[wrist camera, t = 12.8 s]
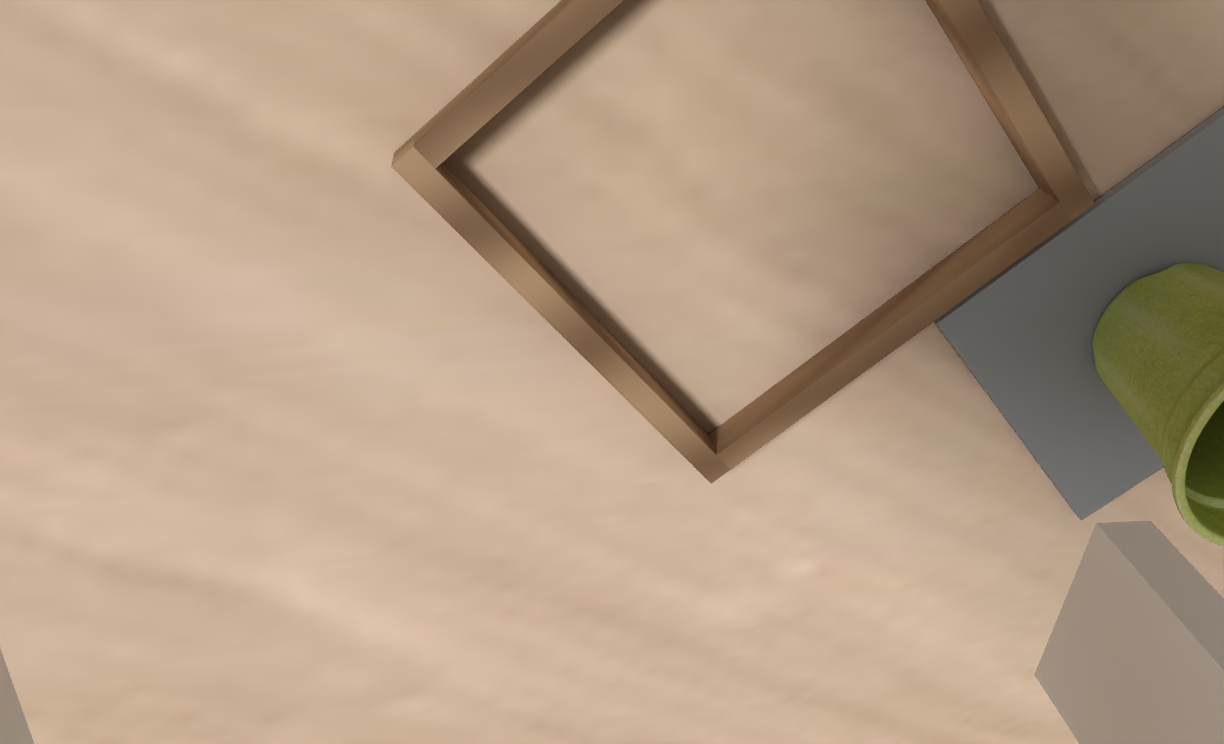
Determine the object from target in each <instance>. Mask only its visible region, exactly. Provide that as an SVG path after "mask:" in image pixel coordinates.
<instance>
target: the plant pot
mask: <svg viewBox="0 0 1224 744" xmlns="http://www.w3.org/2000/svg"><path fill="white" fill-rule="evenodd" d="M1092 345H1093V351H1094V358H1095V364H1096V369H1097V373H1098V375H1099V376H1100V378H1101V379H1102V380H1103V382H1104V383H1105V385H1106V386H1107V387H1108V389H1109V390H1110V392H1111V393H1112V394H1113V396H1114V397H1115V398H1116V399H1117V401H1118V402H1119V403H1120V405H1121V406H1122V407H1123V409H1124V410H1125V411H1126V412H1127V414H1128V415H1129V416H1130V418H1131V419H1132V421H1133V422H1134V423H1135V425H1136V426H1137V427H1138V429H1139V430H1140V431H1141V433H1142V434H1143V435H1144V437H1145V438H1146V439H1147V441H1148V442H1149V443H1150V445H1151V446H1152V448H1153V449H1154V450H1155V452H1156V453H1157V454H1158V456H1159V457H1160V458H1161V460H1162V461H1163V464H1164V468H1165V471H1166V473H1167V476H1168V478H1169V480H1170V482H1171V483H1172V490H1173V496H1174V500H1175V503H1176V506H1177V508H1178V510H1179V512H1180V514H1181V516H1182V517H1183V519H1184V520H1185V521H1186V523H1187V524H1188V525H1189V526H1190V527H1191V528H1192V529H1193V530H1194V531H1195V532H1196V533H1197V534H1198V535H1200V536H1201V537H1203V538H1204V539H1206V540H1208V541H1210V542H1212V543H1215V544H1218V545H1221V546H1224V272H1222V271H1219V270H1217V269H1214V268H1212V267H1210V266H1207V265H1203V264H1198V263H1179V264H1174V265H1172V266H1171V267H1169V268H1167V269H1165V270H1163V271H1161V272H1159V273H1156V274H1153V275H1150V276H1146V277H1143V278H1139V279H1137V280H1135V281H1134V282H1133V283H1131V284H1130V285H1129V286H1127V287H1126V288H1125V289H1124V290H1122V291H1121V292H1120V293H1119V294H1118V295H1117V296H1116V297H1115V299H1114V300H1113V301H1112V302H1111V303H1110V305H1109V306H1108V307H1107V309H1106V310H1105V312H1104V314H1103V315H1102V317H1101V319H1100V321H1099V323H1098V325H1097V327H1096V330H1095V333H1094V337H1093V344H1092Z"/></svg>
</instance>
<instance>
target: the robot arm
mask: <svg viewBox="0 0 1224 744" xmlns="http://www.w3.org/2000/svg"><path fill="white" fill-rule="evenodd" d="M1035 676H1036V678H1037V679H1038V681H1039V682H1040V684H1041V685H1042V687H1043V688H1044V690H1045V691H1046V693H1047V694H1048V696H1049V698H1050V699H1051V701H1052V702H1053V704H1054V705H1055V707H1056V708H1057V710H1058V711H1059V713H1060V714H1061V716H1062V717H1063V719H1064V721H1065V722H1066V724H1067V725H1068V727H1069V728H1070V730H1071V731H1072V733H1073V734H1074V736H1075V737H1076V739H1077V740H1078V742H1079V744H1224V598H1223V597H1222V596H1221V595H1220V594H1219V593H1218V592H1217V591H1216V590H1215V589H1214V588H1213V587H1212V586H1211V585H1210V584H1209V583H1208V581H1207V580H1206V579H1205V578H1204V577H1203V576H1202V575H1201V574H1200V573H1199V572H1198V571H1197V570H1196V569H1195V568H1194V567H1193V566H1192V564H1191V563H1190V562H1189V561H1188V560H1187V559H1186V558H1185V557H1184V556H1183V555H1182V554H1181V553H1180V552H1179V551H1178V550H1177V549H1176V547H1175V546H1174V545H1173V544H1172V543H1171V542H1170V541H1169V540H1168V539H1167V538H1166V537H1165V536H1164V535H1163V534H1162V533H1161V531H1160V530H1159V529H1158V528H1157V527H1156V526H1155V525H1154V524H1153V523H1152V522H1151V521H1138V522H1117V523H1096V525H1095V528H1094V530H1093V533H1092V535H1091V538H1090V540H1089V543H1088V545H1087V547H1086V550H1085V552H1084V555H1083V557H1082V560H1081V562H1080V565H1079V567H1078V570H1077V572H1076V574H1075V577H1074V579H1073V582H1072V584H1071V587H1070V589H1069V592H1068V594H1067V596H1066V599H1065V601H1064V604H1063V606H1062V609H1061V611H1060V614H1059V616H1058V619H1057V621H1056V623H1055V626H1054V628H1053V631H1052V633H1051V636H1050V638H1049V641H1048V643H1047V645H1046V648H1045V650H1044V653H1043V655H1042V658H1041V660H1040V663H1039V665H1038V668H1037V670H1036V672H1035ZM0 744H34V742H33V739H32V736H31V733H30V730H29V728H28V725H27V722H26V719H25V716H24V714H23V711H22V708H21V705H20V702H19V700H18V697H17V694H16V691H15V688H14V686H13V683H12V680H11V677H10V674H9V672H8V669H7V666H6V663H5V660H4V658H3V655H2V652H1V649H0Z"/></svg>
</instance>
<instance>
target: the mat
mask: <svg viewBox="0 0 1224 744" xmlns="http://www.w3.org/2000/svg"><path fill="white" fill-rule="evenodd" d="M1094 203H1095V204H1094V205H1093V206H1091V207H1090V208H1088V209H1087V210H1086V211H1084V212H1083V213H1082V214H1080V215H1079V216H1078V217H1076V218H1075V219H1073V220H1072V221H1071V222H1069V223H1068V224H1067V225H1065V226H1064V227H1062V228H1061V229H1060V230H1058V231H1057V232H1056V233H1054V234H1053V235H1051V236H1050V237H1049V238H1047V239H1046V240H1045V241H1043V242H1042V243H1040V244H1039V245H1038V246H1036V247H1035V248H1034V249H1032V250H1031V251H1030V252H1028V253H1027V254H1025V255H1024V256H1023V257H1021V258H1020V259H1019V260H1017V261H1016V262H1014V263H1013V264H1012V265H1010V266H1009V267H1008V268H1006V269H1005V270H1003V271H1002V272H1001V273H999V274H998V275H997V276H995V277H994V278H992V279H991V280H990V281H988V282H987V283H986V284H984V285H983V286H982V287H980V288H979V289H977V290H976V291H975V292H973V293H972V294H971V295H969V296H968V297H966V298H965V299H964V300H962V301H961V302H960V303H958V304H957V305H955V306H954V307H953V308H951V309H950V310H949V311H947V312H946V313H944V314H943V315H942V316H940V317H939V318H938V319H936V320H935V321H934V322H935V324H936V325H937V326H938V328H939V329H940V330H941V332H942V333H943V334H944V336H945V337H946V339H947V340H948V341H949V343H950V344H951V345H952V347H953V348H954V349H955V351H956V352H957V353H958V355H959V356H960V358H961V359H962V360H963V362H964V363H965V364H966V366H967V367H968V368H969V370H970V371H971V372H972V374H973V375H974V377H975V378H976V379H977V381H978V382H979V383H980V385H981V386H982V387H983V389H984V390H985V391H986V393H987V394H988V395H989V397H990V398H991V400H992V401H993V402H994V404H995V405H996V406H997V408H998V409H999V410H1000V412H1001V413H1002V414H1003V416H1004V417H1005V419H1006V420H1007V421H1008V423H1009V424H1010V425H1011V427H1012V428H1013V429H1014V431H1015V432H1016V433H1017V435H1018V436H1019V438H1020V439H1021V440H1022V442H1023V443H1024V444H1025V446H1026V447H1027V448H1028V450H1029V451H1030V452H1031V454H1032V455H1033V457H1034V458H1035V459H1036V461H1037V462H1038V463H1039V465H1040V466H1041V467H1042V469H1043V470H1044V471H1045V473H1046V474H1047V476H1048V477H1049V478H1050V480H1051V481H1052V482H1053V484H1054V485H1055V486H1056V488H1057V489H1058V490H1059V492H1060V493H1061V495H1062V496H1063V497H1064V499H1065V500H1066V501H1067V503H1068V504H1069V505H1070V507H1071V508H1072V509H1073V511H1074V512H1075V514H1076V515H1077V516H1078V517H1079V518H1080V520H1083V519H1084V518H1086V517H1087V516H1089V515H1090V514H1092V513H1093V512H1095V511H1097V510H1098V509H1100V508H1101V507H1103V506H1104V505H1106V504H1107V503H1109V502H1110V501H1112V500H1114V499H1115V498H1117V497H1118V496H1120V495H1121V494H1123V493H1124V492H1126V491H1127V490H1129V489H1131V488H1132V487H1134V486H1135V485H1137V484H1138V483H1140V482H1141V481H1143V480H1144V479H1146V478H1147V477H1149V476H1151V475H1152V474H1154V473H1155V472H1157V471H1158V470H1160V469H1161V468H1163V467H1164V464H1163V461H1162V460H1161V458H1160V457H1159V456H1158V454H1157V453H1156V452H1155V450H1154V449H1153V448H1152V446H1151V445H1150V443H1149V442H1148V441H1147V439H1146V438H1145V437H1144V435H1143V434H1142V433H1141V431H1140V430H1139V429H1138V427H1137V426H1136V425H1135V423H1134V422H1133V421H1132V419H1131V418H1130V416H1129V415H1128V414H1127V412H1126V411H1125V410H1124V409H1123V407H1122V406H1121V405H1120V403H1119V402H1118V401H1117V399H1116V398H1115V397H1114V396H1113V394H1112V393H1111V392H1110V390H1109V389H1108V387H1107V386H1106V385H1105V383H1104V382H1103V380H1102V379H1101V378H1100V376H1099V375H1098V373H1097V369H1096V364H1095V358H1094V351H1093V345H1092V344H1093V337H1094V333H1095V330H1096V327H1097V325H1098V323H1099V321H1100V319H1101V317H1102V315H1103V314H1104V312H1105V310H1106V309H1107V307H1108V306H1109V305H1110V303H1111V302H1112V301H1113V300H1114V299H1115V297H1116V296H1117V295H1118V294H1119V293H1120V292H1121V291H1122V290H1124V289H1125V288H1126V287H1127V286H1129V285H1130V284H1131V283H1133V282H1134V281H1135V280H1137V279H1139V278H1143V277H1146V276H1150V275H1153V274H1156V273H1159V272H1161V271H1163V270H1165V269H1167V268H1169V267H1171V266H1172V265H1174V264H1179V263H1198V264H1203V265H1207V266H1210V267H1212V268H1214V269H1217V270H1219V271H1222V272H1224V107H1223V108H1221V109H1220V110H1219V111H1217V112H1216V113H1215V114H1213V115H1212V116H1211V117H1209V118H1208V119H1206V120H1205V121H1204V122H1202V123H1201V124H1200V125H1198V126H1197V127H1195V128H1194V129H1193V130H1191V131H1190V132H1189V133H1187V134H1186V135H1184V136H1183V137H1182V138H1180V139H1179V140H1178V141H1176V142H1175V143H1174V144H1172V145H1171V146H1169V147H1168V148H1167V149H1165V150H1164V151H1163V152H1161V153H1160V154H1158V155H1157V156H1156V157H1154V158H1153V159H1152V160H1150V161H1149V162H1148V163H1146V164H1145V165H1143V166H1142V167H1141V168H1139V169H1138V170H1137V171H1135V172H1134V173H1132V174H1131V175H1130V176H1128V177H1127V178H1126V179H1124V180H1123V181H1121V182H1120V183H1119V184H1117V185H1116V186H1115V187H1113V188H1112V189H1111V190H1109V191H1108V192H1106V193H1105V194H1104V195H1102V196H1101V197H1100V198H1098V199H1097V200H1095V201H1094Z"/></svg>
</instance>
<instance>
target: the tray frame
mask: <svg viewBox="0 0 1224 744" xmlns="http://www.w3.org/2000/svg"><path fill="white" fill-rule="evenodd" d="M622 1H623V0H562V1H560V2H559V3H558V4H557V5H556V6H555V7H554V8H553V9H552V10H551V11H549V12H548V13H547V14H546V15H545V16H544V17H543V18H542V19H541V20H540V21H539V22H537V23H536V24H535V25H534V26H533V27H532V28H531V29H530V30H529V31H528V32H526V33H525V34H524V35H523V36H522V37H521V38H520V39H519V40H518V41H517V42H515V43H514V44H513V45H512V46H511V47H510V48H509V49H508V50H507V51H506V52H505V53H503V54H502V55H501V56H500V57H499V58H498V59H497V60H496V61H495V62H494V63H492V64H491V65H490V66H489V67H488V68H487V69H486V70H485V71H484V72H483V73H481V74H480V75H479V76H478V77H477V78H476V79H475V80H474V81H473V82H472V83H471V84H469V85H468V86H467V87H466V88H465V89H464V90H463V91H462V92H461V93H460V94H458V95H457V96H456V97H455V98H454V99H453V100H452V101H451V102H450V103H449V104H447V105H446V106H445V107H444V108H443V109H442V110H441V111H440V112H439V113H438V114H437V115H435V116H434V117H433V118H432V119H431V120H430V121H429V122H428V123H427V124H426V125H424V126H423V127H422V128H421V129H420V130H419V131H418V132H417V133H416V134H415V135H413V136H412V137H411V138H410V139H409V140H408V141H407V142H406V143H405V144H404V145H403V146H401V147H400V148H399V149H398V150H397V151H396V152H395V153H394V157H393V161H392V166H391V167H392V168H393V169H394V170H395V171H396V172H397V173H398V174H399V175H400V176H401V177H402V178H403V179H404V180H405V181H406V182H407V183H408V184H409V185H410V186H411V187H412V188H413V189H414V190H415V191H416V192H417V193H418V194H419V195H421V196H422V197H423V198H424V199H425V200H426V201H427V202H428V203H429V204H430V205H431V206H432V207H433V208H434V209H435V210H436V211H437V212H438V213H439V214H440V215H441V216H442V217H443V218H444V219H445V220H446V221H447V222H448V223H449V224H450V225H451V226H452V227H453V228H454V229H455V230H456V231H457V232H458V233H459V234H460V235H461V236H462V237H463V238H464V239H465V240H466V241H467V242H468V243H469V244H470V245H471V246H472V247H473V248H474V249H475V250H476V251H477V252H478V253H479V254H480V255H481V256H482V257H483V258H484V259H485V260H486V261H487V262H488V263H489V264H490V265H491V266H492V267H493V268H494V269H495V270H496V271H497V272H498V273H499V274H500V275H501V276H502V277H503V278H504V279H505V280H506V281H507V282H508V283H509V284H510V285H511V286H512V287H513V288H514V289H515V290H516V291H517V292H518V293H519V294H520V295H521V296H522V297H523V298H524V299H525V300H526V301H527V302H528V303H530V304H531V305H532V306H533V307H534V308H535V309H536V310H537V311H538V312H539V313H540V314H541V315H542V316H543V317H544V318H545V319H546V320H547V321H548V322H549V323H550V324H551V325H552V326H553V327H554V328H555V329H556V330H557V331H558V332H559V333H560V334H561V335H562V336H563V337H564V338H565V339H566V340H567V341H568V342H569V343H570V344H571V345H572V346H573V347H574V348H575V349H576V350H577V351H578V352H579V353H580V354H581V355H582V356H583V357H584V358H585V359H586V360H587V361H588V362H589V363H590V364H591V365H592V366H593V367H594V368H595V369H596V370H597V371H598V372H599V373H600V374H601V375H602V376H603V377H604V378H605V379H606V380H607V381H608V382H609V383H610V384H611V385H612V386H613V387H614V388H615V389H616V390H617V391H618V392H619V393H620V394H621V395H622V396H623V397H624V398H625V399H626V400H627V401H628V402H629V403H630V404H631V405H632V406H633V407H634V408H635V409H636V410H637V411H638V412H640V413H641V414H642V415H643V416H644V417H645V418H646V419H647V420H648V421H649V422H650V423H651V424H652V425H653V426H654V427H655V428H656V429H657V430H658V431H659V432H660V433H661V434H662V435H663V436H664V437H665V438H666V439H667V440H668V441H669V442H670V443H671V444H672V445H673V446H674V447H675V448H676V449H677V450H678V451H679V452H680V453H681V454H682V455H683V456H684V457H685V458H686V459H687V460H688V461H689V462H690V463H691V464H692V465H693V466H694V467H695V468H696V469H697V470H698V471H699V472H700V473H701V474H702V475H703V476H704V477H705V478H706V479H707V480H708V481H709V482H710V483H713V482H714V481H715V480H717V479H718V478H720V477H721V476H722V475H724V474H725V473H726V472H728V471H729V470H731V469H732V468H733V467H735V466H736V465H737V464H739V463H740V462H742V461H743V460H744V459H746V458H747V457H748V456H750V455H751V454H752V453H754V452H755V451H757V450H758V449H759V448H761V447H762V446H763V445H765V444H766V443H768V442H769V441H770V440H772V439H773V438H774V437H776V436H777V435H779V434H780V433H781V432H783V431H784V430H785V429H787V428H788V427H790V426H791V425H792V424H794V423H795V422H796V421H798V420H799V419H800V418H802V417H803V416H805V415H806V414H807V413H809V412H810V411H811V410H813V409H814V408H816V407H817V406H818V405H820V404H821V403H822V402H824V401H825V400H827V399H828V398H829V397H831V396H832V395H833V394H835V393H836V392H838V391H839V390H840V389H842V388H843V387H844V386H846V385H847V384H848V383H850V382H851V381H853V380H854V379H855V378H857V377H858V376H859V375H861V374H862V373H864V372H865V371H866V370H868V369H869V368H870V367H872V366H873V365H875V364H876V363H877V362H879V361H880V360H881V359H883V358H884V357H886V356H887V355H888V354H890V353H891V352H892V351H894V350H895V349H896V348H898V347H899V346H901V345H902V344H903V343H905V342H906V341H907V340H909V339H910V338H912V337H913V336H914V335H916V334H917V333H918V332H920V331H921V330H923V329H924V328H925V327H927V326H928V325H929V324H931V323H932V322H934V321H935V320H936V319H938V318H939V317H940V316H942V315H943V314H944V313H946V312H947V311H949V310H950V309H951V308H953V307H954V306H955V305H957V304H958V303H960V302H961V301H962V300H964V299H965V298H966V297H968V296H969V295H971V294H972V293H973V292H975V291H976V290H977V289H979V288H980V287H982V286H983V285H984V284H986V283H987V282H988V281H990V280H991V279H992V278H994V277H995V276H997V275H998V274H999V273H1001V272H1002V271H1003V270H1005V269H1006V268H1008V267H1009V266H1010V265H1012V264H1013V263H1014V262H1016V261H1017V260H1019V259H1020V258H1021V257H1023V256H1024V255H1025V254H1027V253H1028V252H1030V251H1031V250H1032V249H1034V248H1035V247H1036V246H1038V245H1039V244H1040V243H1042V242H1043V241H1045V240H1046V239H1047V238H1049V237H1050V236H1051V235H1053V234H1054V233H1056V232H1057V231H1058V230H1060V229H1061V228H1062V227H1064V226H1065V225H1067V224H1068V223H1069V222H1071V221H1072V220H1073V219H1075V218H1076V217H1078V216H1079V215H1080V214H1082V213H1083V212H1084V211H1086V210H1087V209H1088V208H1090V207H1091V206H1093V205H1094V204H1095V203H1094V201H1093V200H1092V198H1091V196H1090V194H1089V193H1088V191H1087V189H1086V187H1085V186H1084V184H1083V182H1082V180H1081V179H1080V177H1079V175H1078V173H1077V172H1076V170H1075V168H1074V167H1073V165H1072V163H1071V161H1070V160H1069V158H1068V156H1067V154H1066V153H1065V151H1064V149H1063V147H1062V146H1061V144H1060V142H1059V140H1058V139H1057V137H1056V135H1055V134H1054V132H1053V130H1052V128H1051V127H1050V125H1049V123H1048V121H1047V120H1046V118H1045V116H1044V114H1043V113H1042V111H1041V109H1040V107H1039V106H1038V104H1037V102H1036V101H1035V99H1034V97H1033V95H1032V94H1031V92H1030V90H1029V88H1028V87H1027V85H1026V83H1025V81H1024V80H1023V78H1022V76H1021V74H1020V73H1019V71H1018V69H1017V68H1016V66H1015V64H1014V62H1013V61H1012V59H1011V57H1010V55H1009V54H1008V52H1007V50H1006V48H1005V47H1004V45H1003V43H1002V41H1001V40H1000V38H999V36H998V35H997V33H996V31H995V29H994V28H993V26H992V24H991V22H990V21H989V19H988V17H987V15H986V14H985V12H984V10H983V8H982V7H981V5H980V3H979V2H978V0H926V2H927V4H928V5H929V7H930V9H931V10H932V12H933V14H934V15H935V17H936V18H937V20H938V22H939V23H940V25H941V27H942V28H943V30H944V32H945V33H946V35H947V37H948V38H949V40H950V42H951V43H952V45H953V47H954V48H955V50H956V51H957V53H958V55H959V56H960V58H961V60H962V61H963V63H964V65H965V66H966V68H967V70H968V71H969V73H970V75H971V76H972V78H973V80H974V81H975V83H976V85H977V86H978V88H979V89H980V91H981V93H982V94H983V96H984V98H985V99H986V101H987V103H988V104H989V106H990V108H991V109H992V111H993V113H994V114H995V116H996V118H997V119H998V121H999V122H1000V124H1001V126H1002V127H1003V129H1004V131H1005V132H1006V134H1007V136H1008V137H1009V139H1010V141H1011V142H1012V144H1013V146H1014V147H1015V149H1016V151H1017V152H1018V154H1019V155H1020V157H1021V159H1022V160H1023V162H1024V164H1025V165H1026V167H1027V169H1028V170H1029V172H1030V174H1031V175H1032V177H1033V179H1034V180H1035V182H1036V184H1037V185H1038V187H1039V189H1038V190H1037V191H1035V192H1034V193H1033V194H1031V195H1030V196H1029V197H1027V198H1026V199H1025V200H1023V201H1022V202H1021V203H1019V204H1018V205H1017V206H1015V207H1014V208H1013V209H1011V210H1010V211H1009V212H1007V213H1006V214H1005V215H1003V216H1002V217H1000V218H999V219H998V220H996V221H995V222H994V223H992V224H991V225H990V226H988V227H987V228H986V229H984V230H983V231H982V232H980V233H979V234H978V235H976V236H975V237H974V238H972V239H971V240H970V241H968V242H967V243H966V244H964V245H963V246H962V247H960V248H959V249H957V250H956V251H955V252H953V253H952V254H951V255H949V256H948V257H947V258H945V259H944V260H943V261H941V262H940V263H939V264H937V265H936V266H935V267H933V268H932V269H931V270H929V271H928V272H927V273H925V274H924V275H923V276H921V277H920V278H919V279H917V280H916V281H914V282H913V283H912V284H910V285H909V286H908V287H906V288H905V289H904V290H902V291H901V292H900V293H898V294H897V295H896V296H894V297H893V298H892V299H890V300H889V301H888V302H886V303H885V304H884V305H882V306H881V307H880V308H878V309H877V310H875V311H874V312H873V313H871V314H870V315H869V316H867V317H866V318H865V319H863V320H862V321H861V322H859V323H858V324H857V325H855V326H854V327H853V328H851V329H850V330H849V331H847V332H846V333H845V334H843V335H842V336H841V337H839V338H838V339H837V340H835V341H834V342H832V343H831V344H830V345H828V346H827V347H826V348H824V349H823V350H822V351H820V352H819V353H818V354H816V355H815V356H814V357H812V358H811V359H810V360H808V361H807V362H806V363H804V364H803V365H802V366H800V367H799V368H798V369H796V370H795V371H794V372H792V373H791V374H789V375H788V376H787V377H785V378H784V379H783V380H781V381H780V382H779V383H777V384H776V385H775V386H773V387H772V388H771V389H769V390H768V391H767V392H765V393H764V394H763V395H761V396H760V397H759V398H757V399H756V400H755V401H753V402H752V403H751V404H749V405H748V406H746V407H745V408H744V409H742V410H741V411H740V412H738V413H737V414H736V415H734V416H733V417H732V418H730V419H729V420H728V421H726V422H725V423H724V424H722V425H721V426H720V427H718V428H717V429H716V430H714V431H713V432H712V433H710V434H709V435H708V434H707V433H706V432H705V431H704V430H703V429H702V428H701V427H700V426H699V425H698V424H697V423H696V422H695V421H694V420H693V419H692V417H691V416H690V415H689V414H688V413H687V412H686V411H685V410H684V409H683V408H682V407H681V406H680V405H679V404H678V403H677V402H676V401H675V400H674V399H673V398H672V397H671V396H670V395H669V394H668V393H667V392H666V391H665V390H664V389H663V388H662V387H661V386H660V385H659V384H658V383H657V382H656V381H655V379H654V378H653V377H652V376H651V375H650V374H649V373H648V372H647V371H646V370H645V369H644V368H643V367H642V366H641V365H640V364H639V363H638V362H637V361H636V360H635V359H634V358H633V357H632V356H631V355H630V354H629V353H628V352H627V351H626V350H625V349H624V348H623V347H622V346H621V345H620V344H619V343H618V341H617V340H616V339H615V338H614V337H613V336H612V335H611V334H610V333H609V332H608V331H607V330H606V329H605V328H604V327H603V326H602V325H601V324H600V323H599V322H598V321H597V320H596V319H595V318H594V317H593V316H592V315H591V314H590V313H589V312H588V311H587V310H586V309H585V308H584V307H583V306H582V305H581V303H580V302H579V301H578V300H577V299H576V298H575V297H574V296H573V295H572V294H571V293H570V292H569V291H568V290H567V289H566V288H565V287H564V286H563V285H562V284H561V283H560V282H559V281H558V280H557V279H556V278H555V277H554V276H553V275H552V274H551V273H550V272H549V271H548V270H547V269H546V268H545V267H544V265H543V264H542V263H541V262H540V261H539V260H538V259H537V258H536V257H535V256H534V255H533V254H532V253H531V252H530V251H529V250H528V249H527V248H526V247H525V246H524V245H523V244H522V243H521V242H520V241H519V240H518V239H517V238H516V237H515V236H514V235H513V234H512V233H511V232H510V231H509V230H508V229H507V227H506V226H505V225H504V224H503V223H502V222H501V221H500V220H499V219H498V218H497V217H496V216H495V215H494V214H493V213H492V212H491V211H490V210H489V209H488V208H487V207H486V206H485V205H484V204H483V203H482V202H481V201H480V200H479V199H478V198H477V197H476V196H475V195H474V194H473V193H472V192H471V191H470V189H469V188H468V187H467V186H466V185H465V184H464V183H463V182H462V181H461V180H460V179H459V178H458V177H457V176H456V175H455V174H454V173H453V172H452V171H451V170H450V169H449V168H448V167H447V166H446V165H445V164H444V163H443V161H445V160H446V159H447V158H448V157H449V156H450V155H451V154H452V153H453V152H455V151H456V150H457V149H458V148H459V147H460V146H461V145H462V144H464V143H465V142H466V141H467V140H468V139H469V138H470V137H471V136H472V135H474V134H475V133H476V132H477V131H478V130H479V129H480V128H481V127H483V126H484V125H485V124H486V123H487V122H488V121H489V120H490V119H491V118H493V117H494V116H495V115H496V114H497V113H498V112H499V111H500V110H502V109H503V108H504V107H505V106H506V105H507V104H508V103H509V102H510V101H512V100H513V99H514V98H515V97H516V96H517V95H518V94H519V93H521V92H522V91H523V90H524V89H525V88H526V87H527V86H528V85H529V84H531V83H532V82H533V81H534V80H535V79H536V78H537V77H538V76H540V75H541V74H542V73H543V72H544V71H545V70H546V69H547V68H548V67H550V66H551V65H552V64H553V63H554V62H555V61H556V60H557V59H559V58H560V57H561V56H562V55H563V54H564V53H565V52H566V51H567V50H569V49H570V48H571V47H572V46H573V45H574V44H575V43H576V42H578V41H579V40H580V39H581V38H582V37H583V36H584V35H585V34H586V33H588V32H589V31H590V30H591V29H592V28H593V27H594V26H595V25H597V24H598V23H599V22H600V21H601V20H602V19H603V18H604V17H605V16H607V15H608V14H609V13H610V12H611V11H612V10H613V9H614V8H616V7H617V6H618V5H619V4H620V3H621V2H622Z"/></svg>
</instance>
